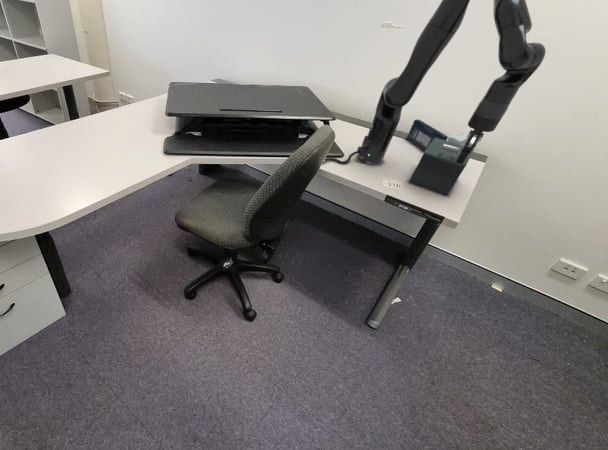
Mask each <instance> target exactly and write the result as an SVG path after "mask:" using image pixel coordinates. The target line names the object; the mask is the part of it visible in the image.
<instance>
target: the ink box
mask: <svg viewBox="0 0 608 450" xmlns="http://www.w3.org/2000/svg"><path fill="white" fill-rule="evenodd" d="M467 136H468V135H466V134H464V133H462V132H460V131H459V132H456V133H454V134H452V135H449V136H448V138H447V140H446V141H449V142H452V143H456V144H459V145H464V143H465V141H466V139H467Z"/></svg>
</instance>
